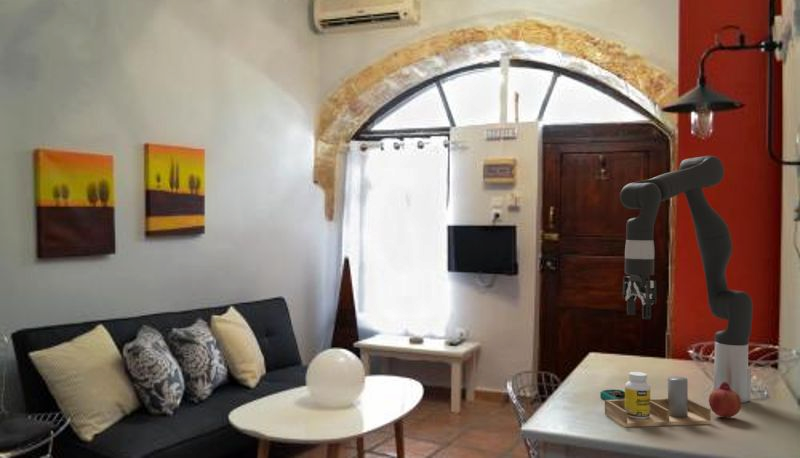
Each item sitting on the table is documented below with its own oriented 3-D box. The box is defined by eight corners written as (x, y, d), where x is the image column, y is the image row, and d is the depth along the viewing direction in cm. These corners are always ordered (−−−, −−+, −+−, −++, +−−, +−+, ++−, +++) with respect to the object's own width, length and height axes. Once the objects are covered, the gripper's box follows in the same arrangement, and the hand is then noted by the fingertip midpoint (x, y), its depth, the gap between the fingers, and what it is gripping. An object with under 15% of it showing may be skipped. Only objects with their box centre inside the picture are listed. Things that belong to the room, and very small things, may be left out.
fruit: (702, 416, 187) (703, 380, 187) (717, 412, 192) (718, 377, 192) (731, 424, 181) (732, 386, 181) (746, 419, 186) (747, 382, 186)
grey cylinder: (677, 410, 188) (676, 375, 188) (691, 416, 184) (691, 379, 183) (663, 413, 186) (663, 377, 186) (678, 419, 182) (678, 382, 181)
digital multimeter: (621, 397, 209) (621, 388, 209) (646, 411, 194) (646, 401, 194) (599, 398, 207) (599, 389, 207) (622, 412, 193) (622, 402, 193)
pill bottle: (630, 420, 180) (631, 376, 180) (620, 413, 187) (621, 371, 186) (654, 419, 181) (654, 376, 181) (643, 412, 187) (644, 370, 187)
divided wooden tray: (686, 411, 192) (686, 397, 192) (710, 423, 181) (710, 409, 181) (604, 414, 189) (605, 400, 189) (624, 427, 177) (624, 411, 177)
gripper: (666, 258, 176) (665, 320, 177) (639, 255, 191) (638, 313, 191) (639, 258, 175) (638, 321, 176) (614, 255, 189) (613, 313, 190)
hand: (638, 316), depth 183 cm, fingers open, 8 cm apart
